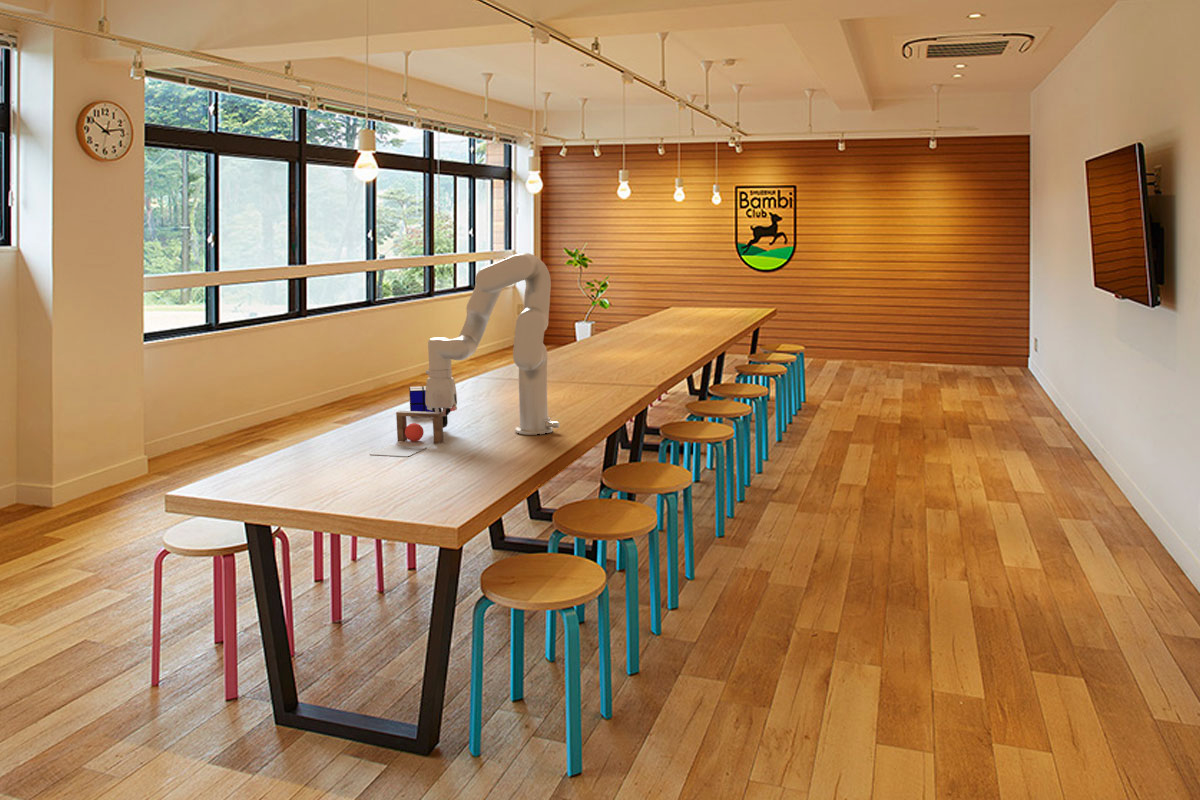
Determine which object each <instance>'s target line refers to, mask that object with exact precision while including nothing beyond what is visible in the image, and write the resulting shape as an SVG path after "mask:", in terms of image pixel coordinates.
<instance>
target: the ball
mask: <svg viewBox="0 0 1200 800" xmlns="http://www.w3.org/2000/svg"><path fill="white" fill-rule="evenodd" d="M424 432H425V431H424V428H423V427H422V426H421V424H419V423H416V422H413V423H409V424H408V425H407V427H406V429H405V435H406V437H407V441H411V442H418V441H420V440H421V439H422V438H423V436H424Z"/></svg>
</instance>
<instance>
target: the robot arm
mask: <svg viewBox="0 0 1200 800" xmlns="http://www.w3.org/2000/svg"><path fill="white" fill-rule="evenodd" d="M522 281H524V282H525V288H524V300H523V308H522V312H520V313H519V315H518V316H517V318H516V321H515V329H514V338H513V339H514V340H513V350H512V358H513V361H514V363H515V365H516V367H518V399H519V400H518V401H519V402H518V403H519V404H518V405H519V406H518V407H519V411H518V412H519V426H516V427H515V428H514V429H515V430H514V431H515V433H517V434H518V433H519V434H520V435H525V436H538V435H537V434H540V435H545V433H547V434H550V433H552V432H553V429H559V428H560V422H559V421H552V420H551V416H550V417H549V414H548V413H549V412H548V350H547V347H546V345H545V344H544V337H545V331H546V330H547V329H548V326H549V315H550V314H549V313H550V304H551V301H550V300H551V290H552V289H551V287H552V284H551V283H552V282H551V281H552V280H551V275H550V271H549V269H548V267H547V265H546V264H545V262H544V261H542V259H540V258H539V257H537V256H536V255H534V254H532V253H529V252H522V253H521V252H520V253H516V254H514V255H512V256H509V257H507V258H505V259H501V260H500V261H498V262H497V261H496V262H494V263H492V264H490V265H487V266H484V267H481V268H480V269H479V270H478V271H477V273H476V275H475V287H474V289H473V290H472V293H471V295H470V298H469V299H468V301H467V304H466V309H465V310H466V317H465V321H464V323H463V326H462V329H461V330H460V333H459V335H458V337H455V338H450V339H449V338H448V337H445V336H444V337H441V336H440V337H439V336H438V337H431V338H429V339H428V342H427V349H428V352H427V353H428V370H427V369H426V371H425V374H426V375H428V377H427V378H426V385H425V386H426V393H425V403H426V406H427V409H428V410H431V411H433V412H442V419H443V429H444V428H447V427H448V423H449V422H448V416H449V414H450V413H451V412H455V411H457V410H458V407H457V405H458V394H457V387H456V382H455V378H454V377H453V374H452V373H453V371H452V370H453V369H452V360H454V361H464V360H466V359H468V358H469V357H471V356H472V355H474V353H475V352H476V351H477V349H478V347H479V345H480V342H481V340H482V338H483V336H484V334H485V331H486V329H487V325H488V323H489V321H490V319H491V318H490V317H491V315H492V313H493V311H494V308H495V306H496V304H497V301H498V299H499V297H500V295H501V293H502V290H503V289H505V288H506V287H507V288H508V287H509V286H512V285H515V284H516V283H519V282H522Z"/></svg>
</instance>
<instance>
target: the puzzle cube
mask: <svg viewBox="0 0 1200 800" xmlns="http://www.w3.org/2000/svg"><path fill="white" fill-rule="evenodd" d="M408 391H409V392H408V394H409V411H421V412H433V411H431V410H428V409H427V406H426V403H425V393H426V385H422V386H421V385H420V386H419V385H418V386H410V387H409V388H408Z"/></svg>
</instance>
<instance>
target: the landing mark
mask: <svg viewBox="0 0 1200 800" xmlns="http://www.w3.org/2000/svg"><path fill="white" fill-rule="evenodd" d="M425 448H426V449H427V448H428V447H424V446H410V445H409V446H406V445H405V446H404V445H388V446H385V447H384V448H381V449H379V450H376V451H373V452H372V453H369V456H379V455H380V456H382V457H398V458H399V457H400V458H409V457H411V456H413V455H415V454H417V453H416V452H418V453H419V451H420V452H421V450H422V451H424V450H425ZM423 449H424V450H423ZM412 454H413V455H412ZM408 456H409V457H408Z"/></svg>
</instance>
